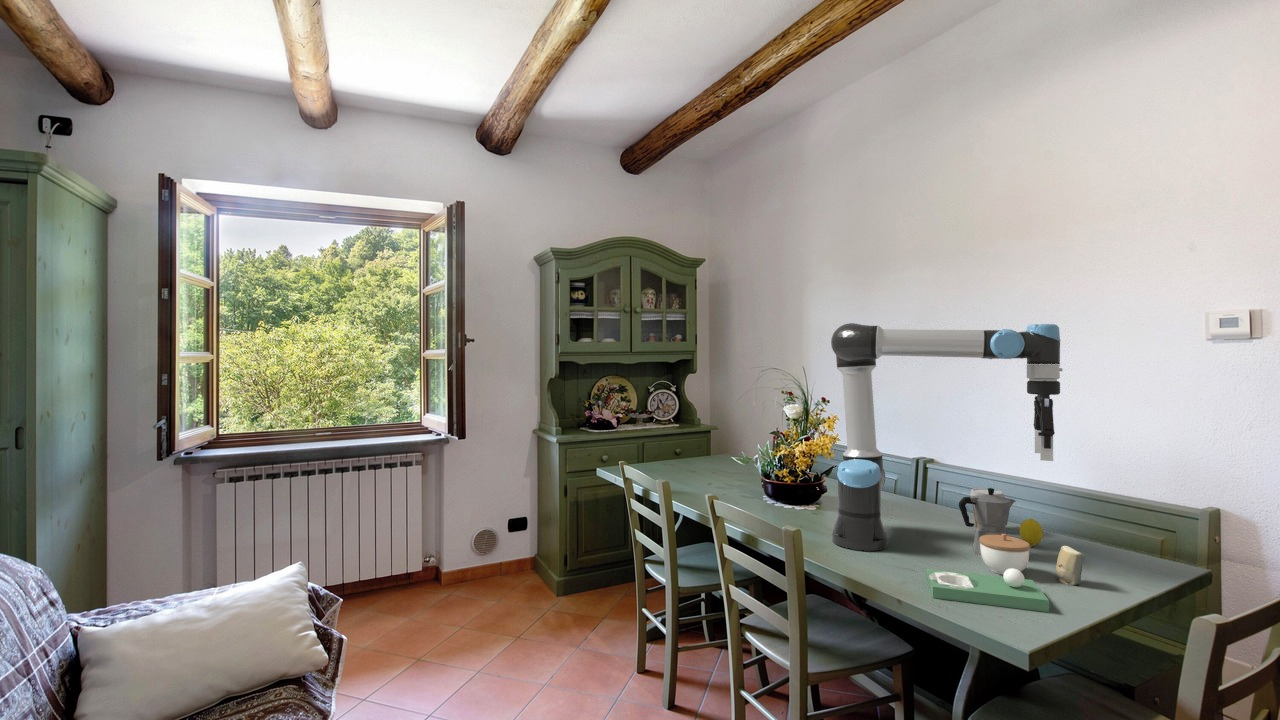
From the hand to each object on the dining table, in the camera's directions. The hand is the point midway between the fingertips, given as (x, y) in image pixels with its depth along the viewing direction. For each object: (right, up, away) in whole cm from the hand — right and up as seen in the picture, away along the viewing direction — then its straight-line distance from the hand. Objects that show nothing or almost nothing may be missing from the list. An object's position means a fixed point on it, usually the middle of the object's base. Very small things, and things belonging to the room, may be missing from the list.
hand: (1043, 456), depth 158 cm
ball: (-28, -22, -30) cm, 47 cm away
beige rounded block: (-9, -27, -21) cm, 35 cm away
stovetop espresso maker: (-2, -27, +22) cm, 35 cm away
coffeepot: (-16, -27, 0) cm, 31 cm away
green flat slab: (-34, -26, -28) cm, 51 cm away
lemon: (0, -27, +5) cm, 27 cm away
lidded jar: (-20, -27, -14) cm, 36 cm away
